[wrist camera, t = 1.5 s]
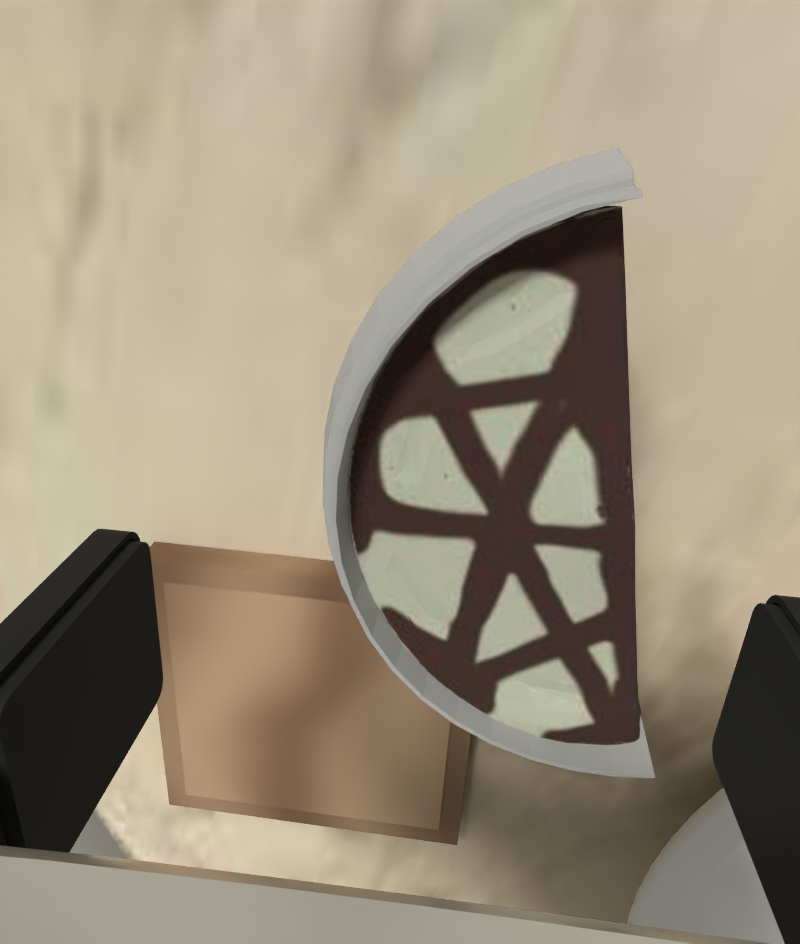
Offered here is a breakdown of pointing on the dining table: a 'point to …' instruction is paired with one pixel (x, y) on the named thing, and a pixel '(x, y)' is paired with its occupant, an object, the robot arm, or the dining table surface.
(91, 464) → the dining table surface
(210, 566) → the board
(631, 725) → the food container
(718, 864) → the soup bowl
